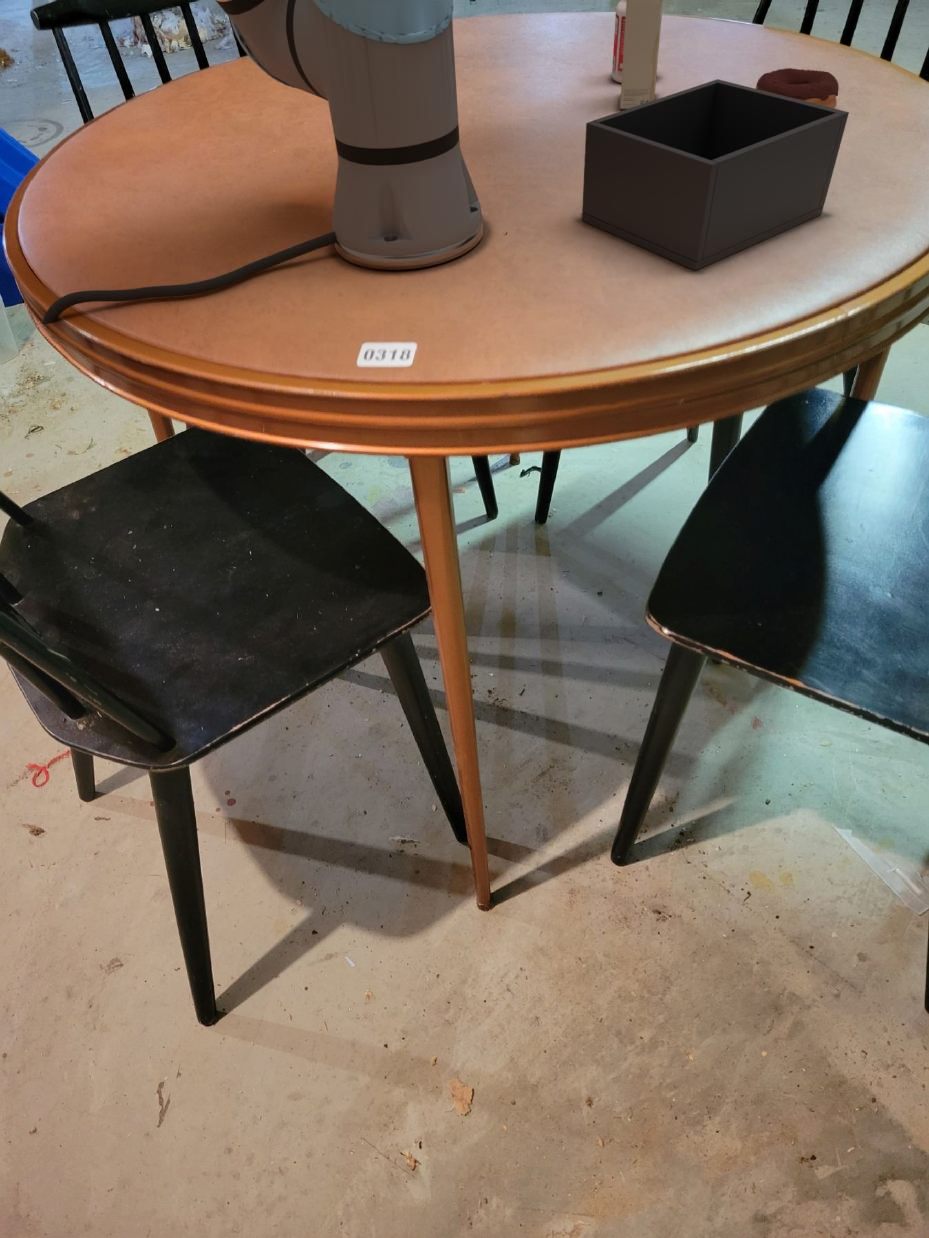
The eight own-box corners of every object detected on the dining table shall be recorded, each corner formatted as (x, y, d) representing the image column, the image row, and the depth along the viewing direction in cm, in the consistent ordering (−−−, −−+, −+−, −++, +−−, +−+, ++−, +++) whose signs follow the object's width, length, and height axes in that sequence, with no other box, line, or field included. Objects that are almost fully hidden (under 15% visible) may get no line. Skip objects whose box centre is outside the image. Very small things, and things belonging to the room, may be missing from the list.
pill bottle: (664, 79, 108) (675, -22, 100) (627, 88, 106) (635, -14, 98) (638, 69, 112) (647, -29, 103) (603, 78, 110) (608, -21, 102)
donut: (852, 110, 95) (862, 72, 92) (799, 131, 91) (808, 91, 88) (785, 94, 101) (792, 57, 98) (733, 112, 97) (739, 75, 94)
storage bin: (694, 271, 70) (711, 165, 64) (581, 220, 79) (585, 122, 72) (821, 214, 76) (849, 112, 69) (703, 173, 85) (717, 79, 78)
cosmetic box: (652, 110, 100) (664, -9, 91) (618, 110, 101) (626, -8, 91) (654, 95, 104) (666, -21, 95) (621, 95, 105) (629, -19, 95)
